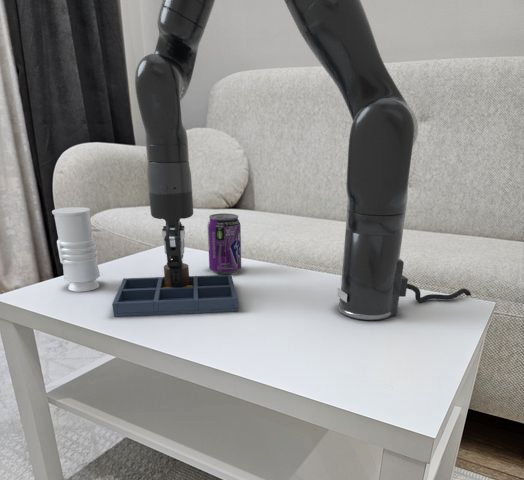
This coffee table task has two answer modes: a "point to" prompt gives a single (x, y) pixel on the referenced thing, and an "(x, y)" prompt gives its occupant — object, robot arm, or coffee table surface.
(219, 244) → the beverage can
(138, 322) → the coffee table surface
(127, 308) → the grey compartment tray
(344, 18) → the robot arm
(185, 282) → the brown cylindrical piece
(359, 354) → the coffee table surface
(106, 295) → the coffee table surface
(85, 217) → the white ribbed cylinder
